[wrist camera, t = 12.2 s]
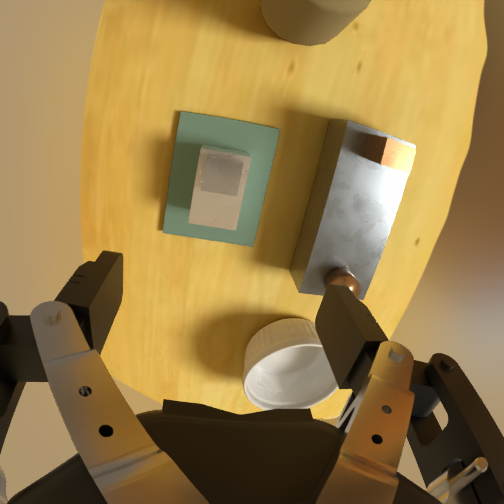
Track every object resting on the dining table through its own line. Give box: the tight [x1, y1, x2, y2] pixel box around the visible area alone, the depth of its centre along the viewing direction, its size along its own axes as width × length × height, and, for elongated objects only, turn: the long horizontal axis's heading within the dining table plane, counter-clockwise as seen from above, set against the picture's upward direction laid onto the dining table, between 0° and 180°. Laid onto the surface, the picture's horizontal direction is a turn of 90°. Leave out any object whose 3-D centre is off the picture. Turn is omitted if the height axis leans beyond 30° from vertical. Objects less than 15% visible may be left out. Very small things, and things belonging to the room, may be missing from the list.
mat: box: [163, 111, 280, 247], centre depth 32 cm, size 13×10×1 cm
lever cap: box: [188, 144, 251, 231], centre depth 29 cm, size 7×4×5 cm, turn 169°
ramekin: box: [242, 318, 338, 410], centre depth 39 cm, size 13×13×7 cm
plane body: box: [289, 119, 416, 300], centre depth 30 cm, size 18×8×9 cm, turn 169°
